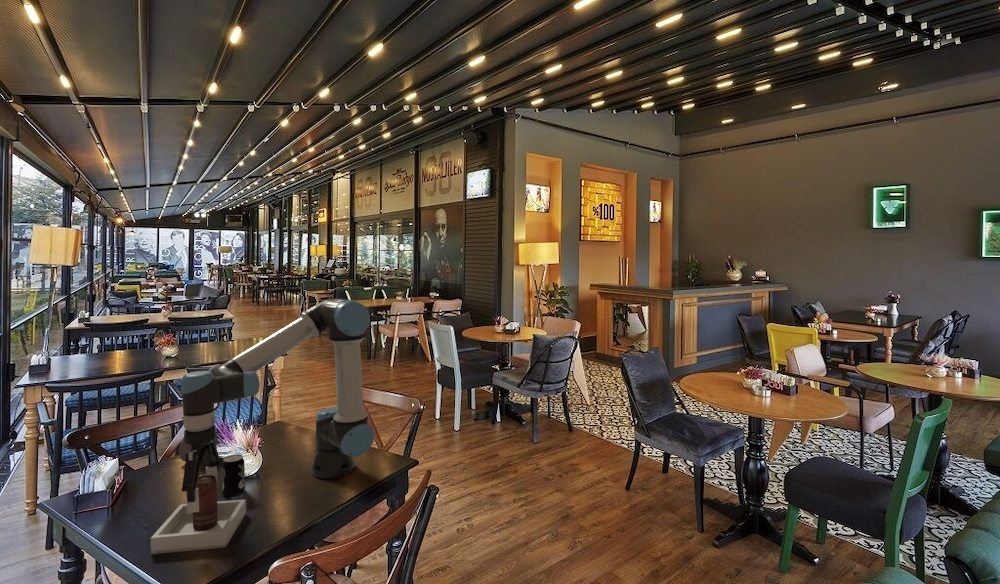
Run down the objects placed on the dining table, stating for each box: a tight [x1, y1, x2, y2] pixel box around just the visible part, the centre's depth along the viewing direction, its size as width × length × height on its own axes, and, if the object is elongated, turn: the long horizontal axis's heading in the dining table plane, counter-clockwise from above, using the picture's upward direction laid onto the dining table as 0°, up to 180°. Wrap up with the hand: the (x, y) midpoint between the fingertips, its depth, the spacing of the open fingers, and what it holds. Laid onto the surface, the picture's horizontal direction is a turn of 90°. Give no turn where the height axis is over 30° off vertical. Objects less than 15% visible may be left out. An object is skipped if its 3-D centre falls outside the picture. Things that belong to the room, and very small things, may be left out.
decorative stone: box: [178, 431, 219, 463], centre depth 190 cm, size 15×10×15 cm
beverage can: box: [221, 454, 246, 498], centre depth 163 cm, size 7×7×12 cm
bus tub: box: [150, 499, 247, 555], centre depth 139 cm, size 18×18×4 cm
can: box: [193, 475, 218, 531], centre depth 141 cm, size 6×6×14 cm
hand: (203, 499), depth 139 cm, fingers open, 13 cm apart
